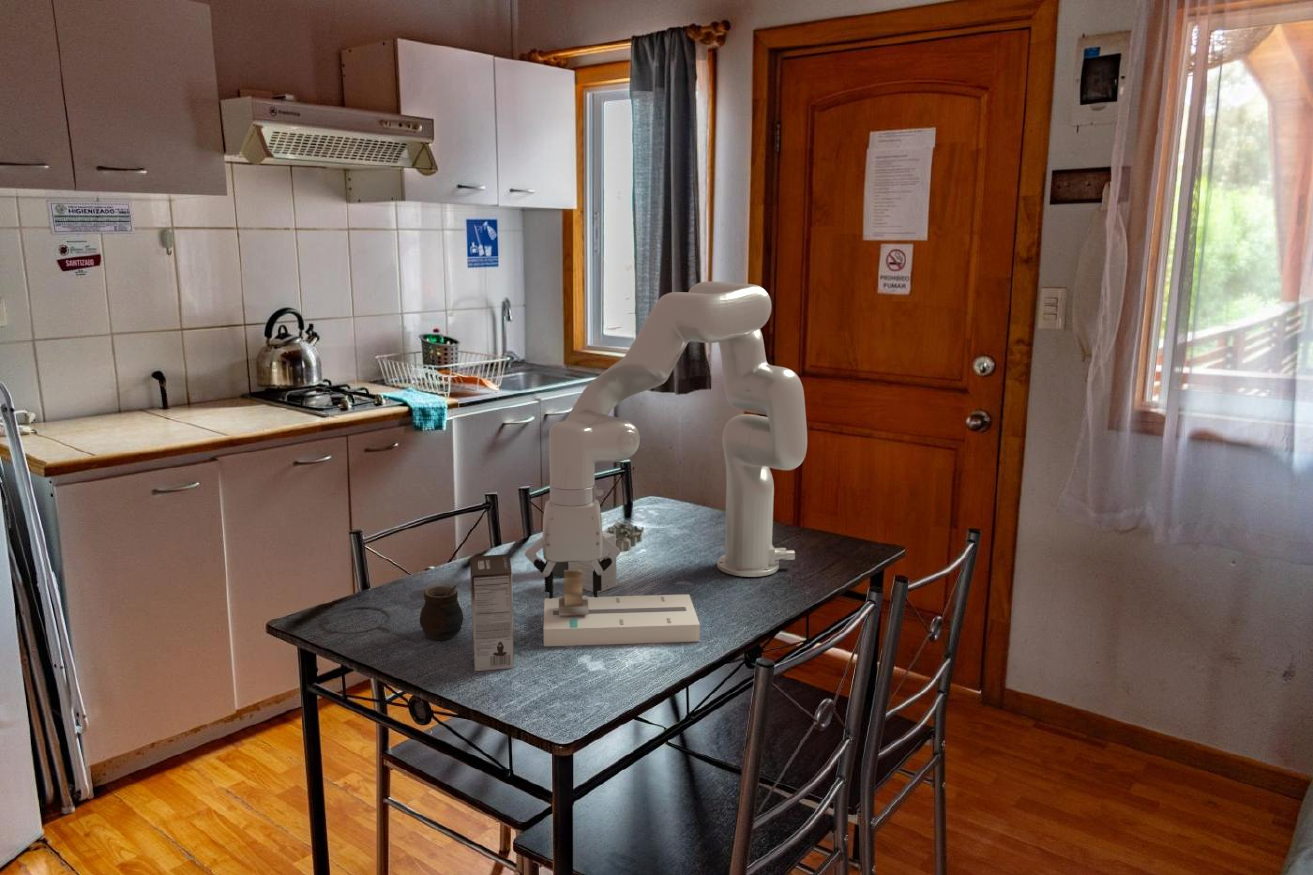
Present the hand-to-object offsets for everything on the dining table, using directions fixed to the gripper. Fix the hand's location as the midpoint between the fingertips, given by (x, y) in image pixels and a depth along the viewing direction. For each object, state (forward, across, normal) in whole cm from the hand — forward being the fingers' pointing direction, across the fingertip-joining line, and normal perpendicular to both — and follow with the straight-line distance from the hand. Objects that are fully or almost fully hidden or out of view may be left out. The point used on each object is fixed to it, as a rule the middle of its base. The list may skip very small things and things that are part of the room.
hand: (573, 594), depth 171 cm
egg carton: (+7, -11, -46) cm, 48 cm away
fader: (+3, 0, 0) cm, 3 cm away
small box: (+7, -4, -21) cm, 22 cm away
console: (+6, -8, 0) cm, 10 cm away
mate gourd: (+6, +22, +1) cm, 23 cm away
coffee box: (+6, +13, +11) cm, 18 cm away
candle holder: (+6, +1, -29) cm, 30 cm away
